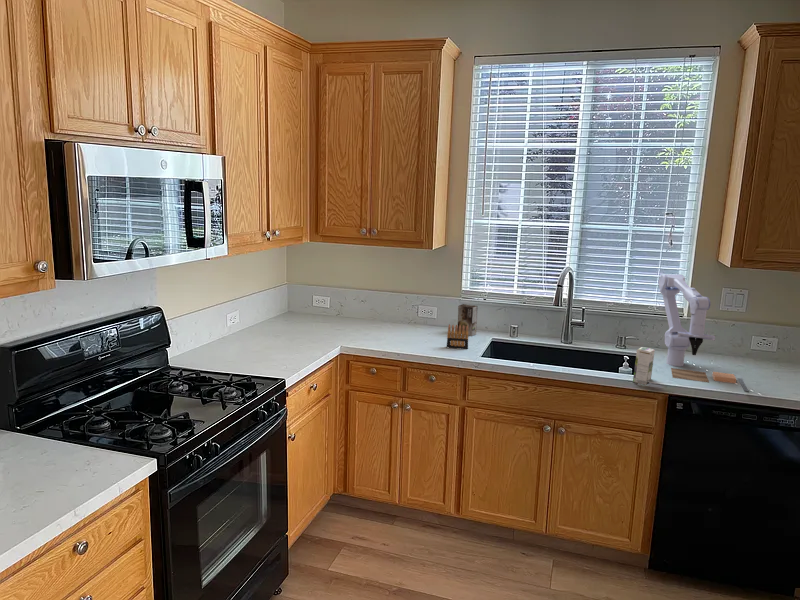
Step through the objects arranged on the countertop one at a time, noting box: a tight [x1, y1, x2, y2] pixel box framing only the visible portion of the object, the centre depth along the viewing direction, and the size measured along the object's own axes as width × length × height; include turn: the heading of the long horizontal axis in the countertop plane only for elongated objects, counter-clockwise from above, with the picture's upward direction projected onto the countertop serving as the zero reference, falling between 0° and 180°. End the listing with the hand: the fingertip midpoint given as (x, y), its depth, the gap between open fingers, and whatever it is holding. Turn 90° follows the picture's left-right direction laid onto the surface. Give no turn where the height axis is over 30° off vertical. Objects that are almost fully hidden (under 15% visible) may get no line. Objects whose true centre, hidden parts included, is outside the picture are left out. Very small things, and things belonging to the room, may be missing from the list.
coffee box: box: [457, 303, 478, 337], centre depth 319 cm, size 9×6×16 cm
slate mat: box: [736, 377, 750, 393], centre depth 248 cm, size 18×14×1 cm
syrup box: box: [632, 346, 656, 386], centre depth 244 cm, size 6×6×14 cm
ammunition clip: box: [446, 324, 469, 350], centre depth 290 cm, size 11×2×12 cm, turn 82°
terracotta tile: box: [711, 371, 737, 384], centre depth 248 cm, size 7×8×3 cm
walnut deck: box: [670, 367, 710, 384], centre depth 253 cm, size 16×14×2 cm
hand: (693, 354), depth 254 cm, fingers closed
